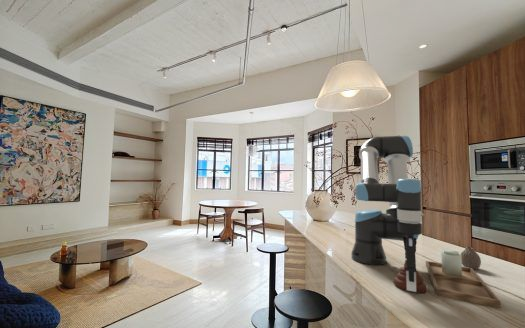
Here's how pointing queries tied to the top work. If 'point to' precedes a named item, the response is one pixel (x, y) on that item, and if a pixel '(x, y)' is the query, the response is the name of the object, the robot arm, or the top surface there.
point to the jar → (451, 263)
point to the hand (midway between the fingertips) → (410, 283)
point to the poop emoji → (402, 282)
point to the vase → (470, 258)
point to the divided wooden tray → (461, 285)
